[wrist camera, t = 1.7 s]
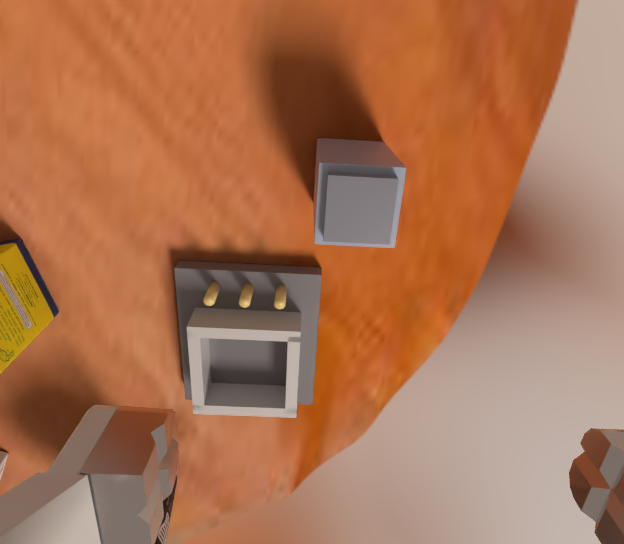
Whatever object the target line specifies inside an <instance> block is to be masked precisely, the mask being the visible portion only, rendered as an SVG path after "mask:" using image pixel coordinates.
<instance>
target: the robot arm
mask: <svg viewBox="0 0 624 544" xmlns="http://www.w3.org/2000/svg"><path fill="white" fill-rule="evenodd" d="M176 426H177V424H176V415H175V411H173V410H172V409H159V408H145V407H131V406H121V407H120V406H108V405H94V406H92V407H91V408H89V409H88V410H87V412H86V413H85V415H84V416H83V418H82V419H81V421H80V422H79V424H78V425H77V427H76V428H75V430H74V431H73V433H72V434H71V436H70V437H69V439H68V440H67V442H66V443H65V445H64V446H63V448H62V449H61V451H60V452H59V454H58V455H57V457H56V459H55V460H54V462H53V463H52V465H51V466H50V468H49V469H48V471H47V472H46V473H36V474H35V475H33V476H32V477H30V478H28V479H27V480H25V481H24V482H22V483H20V484H19V485H17V486H16V487H14V488H13V489H11V490H9V491H8V492H6V493H5V494H3V495H1V496H0V544H155V541H156V538H157V535H158V532H159V529H160V526H161V523H162V520H163V517H164V510H163V501H164V500H165V499H166V498H167V497H168V496H169V495H170V494H171V493H172V490H173V486H174V483H175V480H176V474H177V469H178V460H179V448H178V442H177V441H176V440H175V439H174V438H173V434H174V431H175V428H176ZM581 445H582V448H583V450H584V451H585V452H584V453H583V454H581V455H580V456H578V457H577V458H576V459H574V460H573V463H572V466H571V469H570V472H569V478H570V488H571V491H572V494H573V497H574V499H575V501H576V503H577V504H578V506H579V507H580V509H581V511H582V512H584V513H585V514H586V515H588V516H589V517H590V518H592V519H593V520H594V521H595V522H596V525H595V534H596V536H597V537H598V539H599V540H600V542H601V544H624V430H619V429H592V428H591V429H590V430H589V431H587V432H586V433H585V434H584V436H583V439H582V441H581Z"/></svg>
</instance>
